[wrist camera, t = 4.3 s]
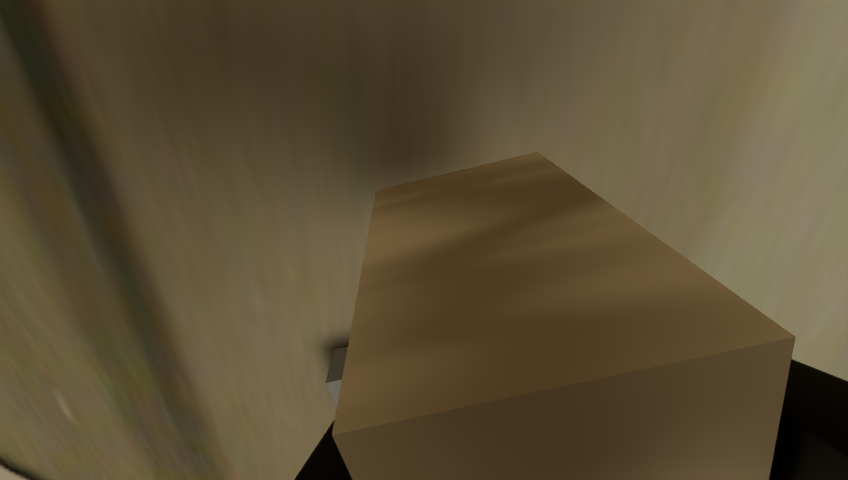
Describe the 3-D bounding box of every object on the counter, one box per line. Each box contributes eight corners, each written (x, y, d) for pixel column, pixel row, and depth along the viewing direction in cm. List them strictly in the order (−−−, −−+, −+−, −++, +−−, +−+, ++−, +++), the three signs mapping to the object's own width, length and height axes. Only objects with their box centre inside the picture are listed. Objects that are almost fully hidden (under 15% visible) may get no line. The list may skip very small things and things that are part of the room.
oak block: (537, 152, 11) (796, 337, 4) (553, 290, 13) (747, 592, 6) (376, 190, 11) (331, 434, 4) (414, 321, 13) (431, 649, 6)
